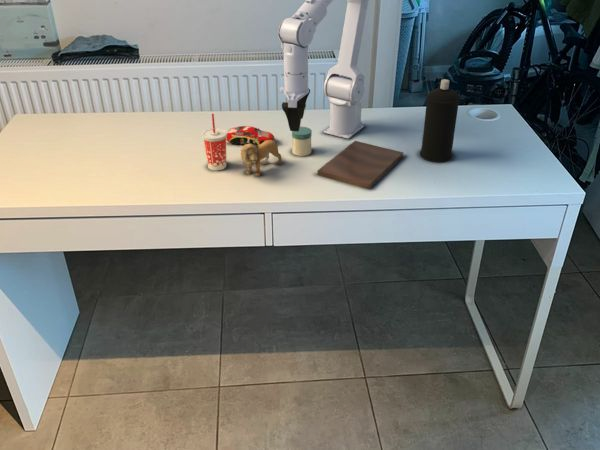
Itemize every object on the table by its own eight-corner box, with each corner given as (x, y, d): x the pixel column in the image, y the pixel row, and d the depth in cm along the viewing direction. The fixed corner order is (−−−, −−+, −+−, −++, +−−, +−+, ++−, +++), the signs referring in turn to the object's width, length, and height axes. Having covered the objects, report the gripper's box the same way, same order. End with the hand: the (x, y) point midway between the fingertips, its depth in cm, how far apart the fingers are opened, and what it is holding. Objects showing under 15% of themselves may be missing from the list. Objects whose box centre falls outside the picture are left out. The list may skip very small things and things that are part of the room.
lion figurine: (255, 184, 147) (253, 149, 142) (236, 178, 149) (234, 145, 144) (286, 159, 158) (285, 127, 153) (268, 155, 160) (267, 123, 155)
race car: (277, 140, 168) (276, 126, 166) (271, 148, 164) (271, 134, 161) (231, 135, 171) (230, 122, 168) (224, 143, 166) (223, 130, 164)
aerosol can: (452, 163, 155) (463, 87, 145) (419, 161, 157) (427, 85, 146) (452, 149, 162) (462, 76, 151) (420, 147, 164) (428, 74, 153)
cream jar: (298, 146, 165) (298, 125, 161) (315, 150, 162) (315, 129, 159) (288, 153, 161) (288, 132, 158) (305, 157, 159) (305, 136, 156)
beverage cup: (233, 162, 157) (229, 111, 149) (222, 173, 152) (218, 120, 144) (211, 159, 158) (207, 107, 151) (200, 169, 154) (195, 117, 146)
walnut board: (354, 144, 165) (355, 140, 165) (403, 156, 159) (403, 152, 158) (317, 174, 151) (317, 170, 150) (368, 189, 145) (369, 184, 144)
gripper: (283, 60, 152) (284, 112, 159) (274, 80, 140) (276, 135, 147) (312, 61, 151) (312, 113, 159) (305, 81, 139) (305, 137, 146)
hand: (296, 124), depth 153 cm, fingers open, 7 cm apart
